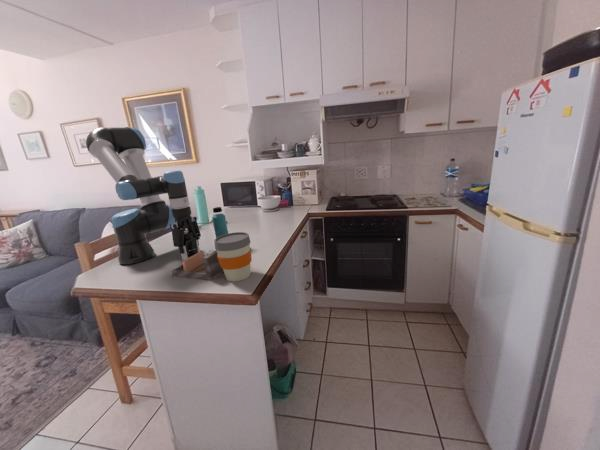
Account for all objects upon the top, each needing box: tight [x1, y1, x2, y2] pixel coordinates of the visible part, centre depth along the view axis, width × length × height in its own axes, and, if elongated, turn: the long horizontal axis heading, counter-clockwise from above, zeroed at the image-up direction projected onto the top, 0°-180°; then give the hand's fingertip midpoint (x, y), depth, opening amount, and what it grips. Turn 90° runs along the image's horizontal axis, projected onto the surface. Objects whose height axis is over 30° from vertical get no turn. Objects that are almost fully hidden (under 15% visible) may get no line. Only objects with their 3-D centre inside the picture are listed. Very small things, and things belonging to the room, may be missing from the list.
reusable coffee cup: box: [214, 231, 252, 282], centre depth 96 cm, size 13×13×15 cm
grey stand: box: [171, 249, 224, 281], centre depth 105 cm, size 19×14×9 cm
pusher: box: [181, 250, 206, 272], centre depth 107 cm, size 1×11×5 cm, turn 160°
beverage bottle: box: [211, 206, 229, 239], centre depth 130 cm, size 6×7×20 cm
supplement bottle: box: [180, 230, 199, 258], centre depth 119 cm, size 7×7×12 cm
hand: (191, 256), depth 121 cm, fingers closed on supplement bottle, 7 cm apart
